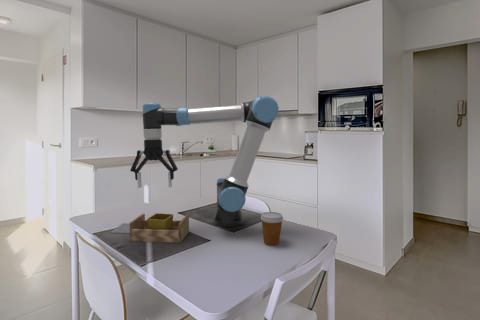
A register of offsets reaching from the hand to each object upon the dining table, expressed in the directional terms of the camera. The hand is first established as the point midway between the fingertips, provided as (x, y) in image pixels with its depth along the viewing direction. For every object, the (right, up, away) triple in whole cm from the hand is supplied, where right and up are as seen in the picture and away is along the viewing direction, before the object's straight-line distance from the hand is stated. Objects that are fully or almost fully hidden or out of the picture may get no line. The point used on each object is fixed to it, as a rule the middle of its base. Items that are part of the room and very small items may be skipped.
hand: (155, 187), depth 130 cm
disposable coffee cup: (+51, -23, -6) cm, 56 cm away
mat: (-15, -21, +10) cm, 28 cm away
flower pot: (+2, -22, +1) cm, 22 cm away
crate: (+2, -22, +1) cm, 22 cm away
